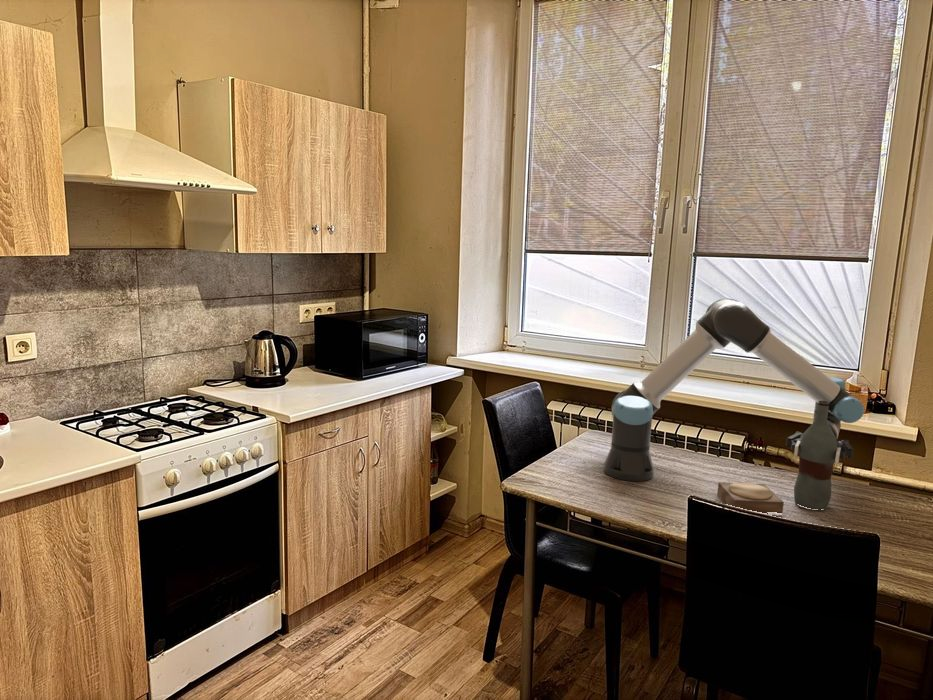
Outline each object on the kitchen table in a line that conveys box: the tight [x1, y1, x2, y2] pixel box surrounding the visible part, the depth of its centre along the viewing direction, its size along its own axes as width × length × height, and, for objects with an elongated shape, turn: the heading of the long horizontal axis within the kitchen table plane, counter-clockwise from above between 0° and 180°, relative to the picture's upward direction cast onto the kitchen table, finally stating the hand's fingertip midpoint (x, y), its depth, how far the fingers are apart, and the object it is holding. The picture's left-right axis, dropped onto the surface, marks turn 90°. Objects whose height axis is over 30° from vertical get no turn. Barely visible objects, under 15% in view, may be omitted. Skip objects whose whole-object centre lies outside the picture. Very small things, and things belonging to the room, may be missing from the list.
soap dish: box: [716, 481, 785, 514], centre depth 184 cm, size 13×13×5 cm
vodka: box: [793, 401, 837, 510], centre depth 183 cm, size 9×9×30 cm
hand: (816, 454), depth 179 cm, fingers closed on vodka, 9 cm apart
